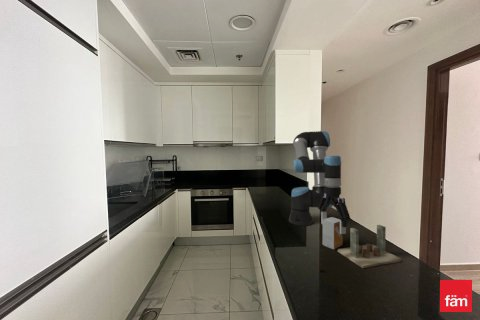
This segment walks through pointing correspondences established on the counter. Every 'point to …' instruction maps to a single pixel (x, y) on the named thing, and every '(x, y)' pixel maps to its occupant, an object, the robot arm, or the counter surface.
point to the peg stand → (368, 250)
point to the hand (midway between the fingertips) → (332, 228)
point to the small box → (332, 233)
